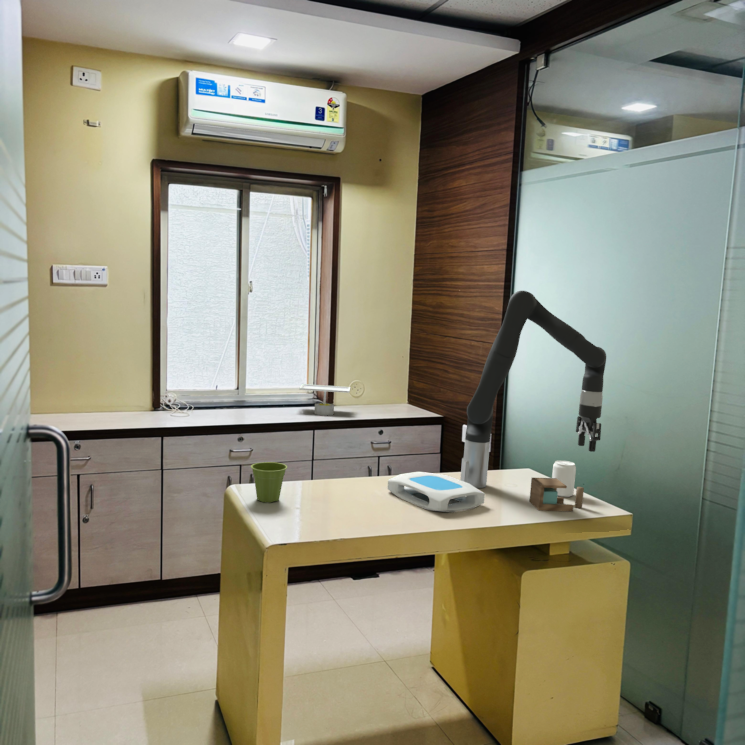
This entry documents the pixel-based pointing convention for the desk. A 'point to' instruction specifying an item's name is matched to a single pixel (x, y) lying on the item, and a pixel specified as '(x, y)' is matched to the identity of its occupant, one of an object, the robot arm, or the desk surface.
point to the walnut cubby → (538, 494)
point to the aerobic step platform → (436, 491)
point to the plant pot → (268, 480)
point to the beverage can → (565, 477)
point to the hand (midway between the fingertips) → (586, 448)
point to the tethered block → (551, 494)
